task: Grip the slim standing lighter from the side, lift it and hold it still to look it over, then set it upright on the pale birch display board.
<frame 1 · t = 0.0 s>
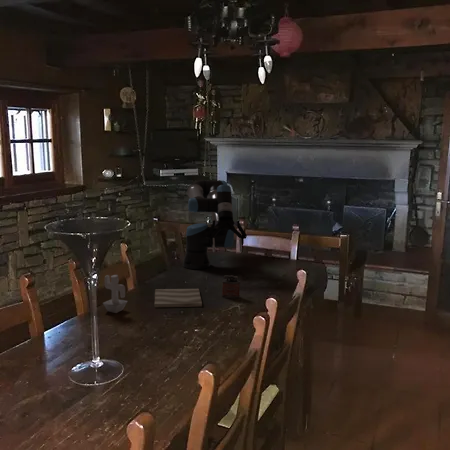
hand: (227, 251, 250), 15 cm above the table, tool tilted 35°, fingers open, 13 cm apart
lighter: (230, 297, 228), on the table
display board: (177, 299, 223), on the table
figurine: (115, 311, 207), on the table
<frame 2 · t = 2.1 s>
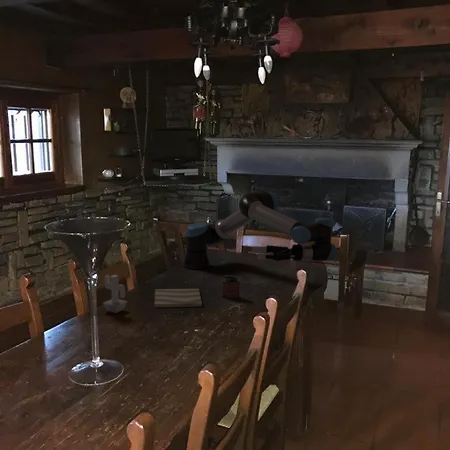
hand: (255, 252, 226), 20 cm above the table, tool horizontal, fingers open, 13 cm apart
nothing on the table moved.
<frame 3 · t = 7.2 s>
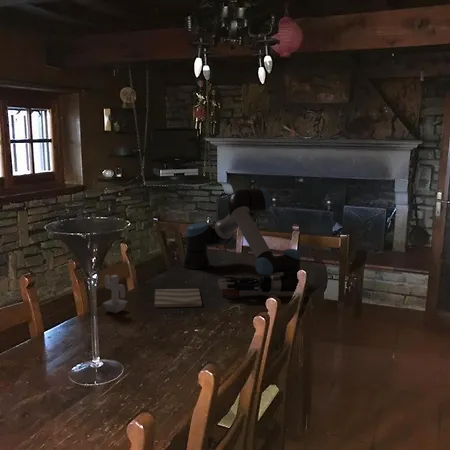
hand: (219, 284, 226), 6 cm above the table, tool horizontal, fingers closed on lighter, 4 cm apart
lighter: (230, 297, 228), on the table, touching gripper
everything else where it was.
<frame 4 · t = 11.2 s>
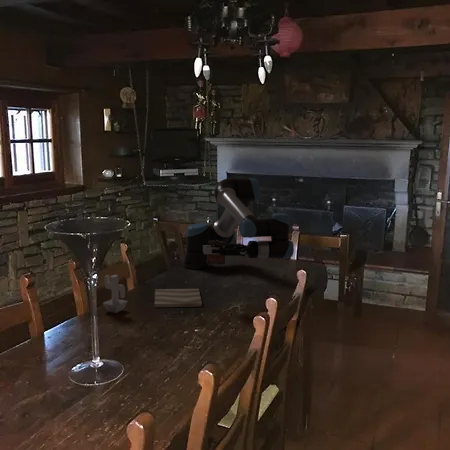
hand: (203, 249, 214), 24 cm above the table, tool horizontal, fingers closed on lighter, 4 cm apart
lighter: (215, 263, 216), point 18 cm above the table, touching gripper
everything else where it was.
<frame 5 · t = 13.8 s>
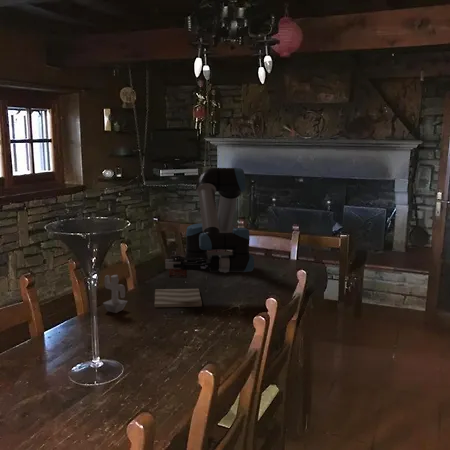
hand: (165, 264, 219), 16 cm above the table, tool horizontal, fingers closed on lighter, 4 cm apart
lighter: (177, 277, 221), point 10 cm above the table, touching gripper
everything else where it was.
when the fingers open (8 cm above the table, at t = 15.6 s): lighter stays where it is, resting on display board.
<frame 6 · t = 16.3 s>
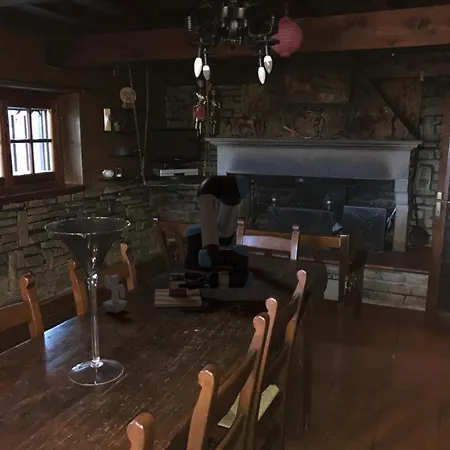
hand: (170, 280, 221), 8 cm above the table, tool horizontal, fingers open, 13 cm apart
lighter: (177, 296, 223), point 1 cm above the table, touching display board
everything else where it was.
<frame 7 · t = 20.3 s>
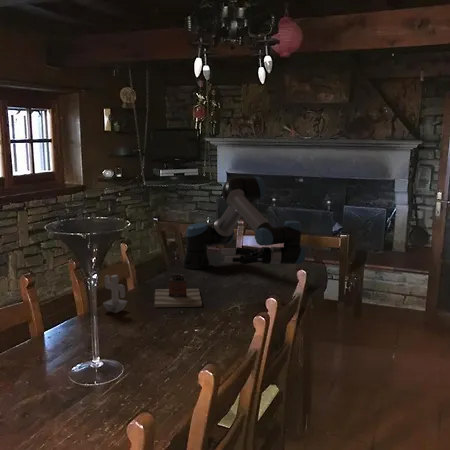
hand: (223, 255, 223), 20 cm above the table, tool horizontal, fingers open, 13 cm apart
nothing on the table moved.
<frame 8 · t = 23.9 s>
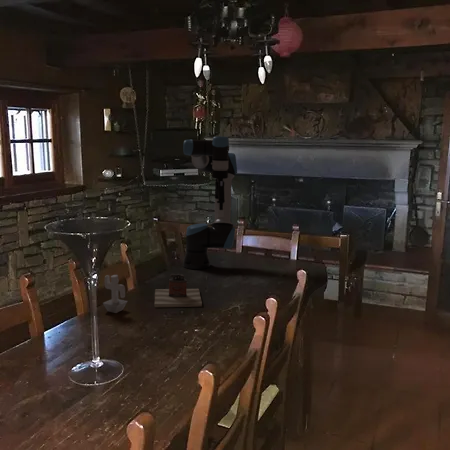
hand: (219, 214, 240), 35 cm above the table, tool pointing down, fingers open, 13 cm apart
nothing on the table moved.
at the end: lighter inside the target area on the display board (0.1 cm from its centre), point 1.3 cm above the display board's base; lighter tilted 0°; the gripper is holding nothing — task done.
